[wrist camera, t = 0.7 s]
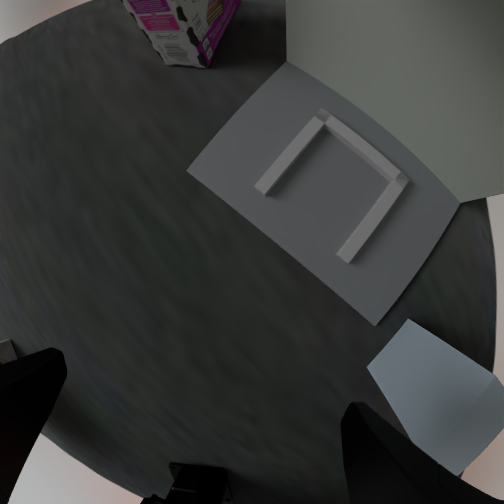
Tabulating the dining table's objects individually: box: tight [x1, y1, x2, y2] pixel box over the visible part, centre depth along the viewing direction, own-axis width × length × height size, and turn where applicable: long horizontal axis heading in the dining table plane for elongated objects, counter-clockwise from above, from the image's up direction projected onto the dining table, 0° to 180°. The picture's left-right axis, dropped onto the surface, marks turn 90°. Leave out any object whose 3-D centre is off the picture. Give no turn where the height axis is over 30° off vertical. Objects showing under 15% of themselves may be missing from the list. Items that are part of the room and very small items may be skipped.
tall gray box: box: [367, 319, 504, 476], centre depth 15 cm, size 6×5×12 cm
